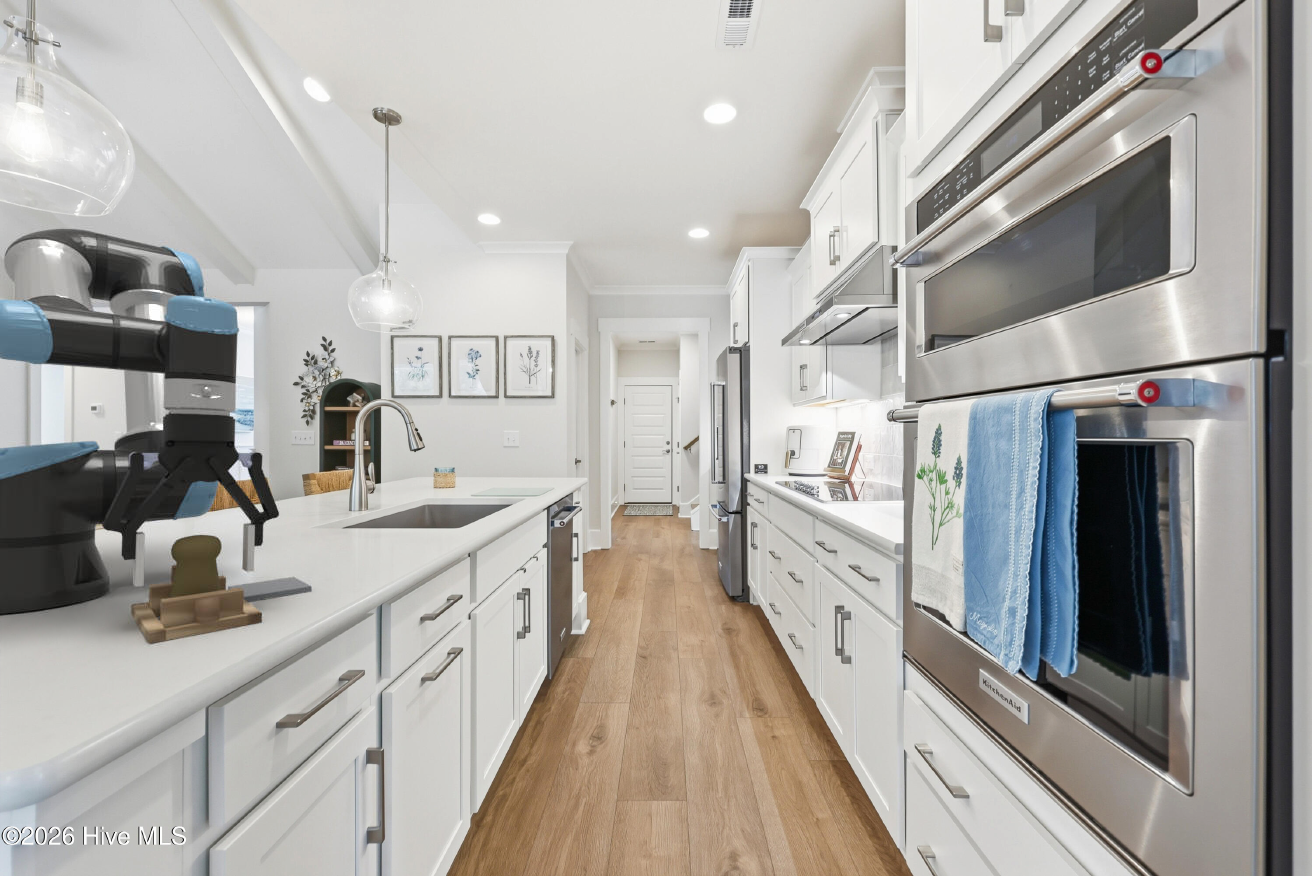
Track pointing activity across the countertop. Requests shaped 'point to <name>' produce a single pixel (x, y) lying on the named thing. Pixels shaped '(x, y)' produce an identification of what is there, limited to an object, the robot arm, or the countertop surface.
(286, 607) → the countertop surface
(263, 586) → the slate coaster
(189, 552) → the cork
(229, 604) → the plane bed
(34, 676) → the countertop surface
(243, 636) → the countertop surface
